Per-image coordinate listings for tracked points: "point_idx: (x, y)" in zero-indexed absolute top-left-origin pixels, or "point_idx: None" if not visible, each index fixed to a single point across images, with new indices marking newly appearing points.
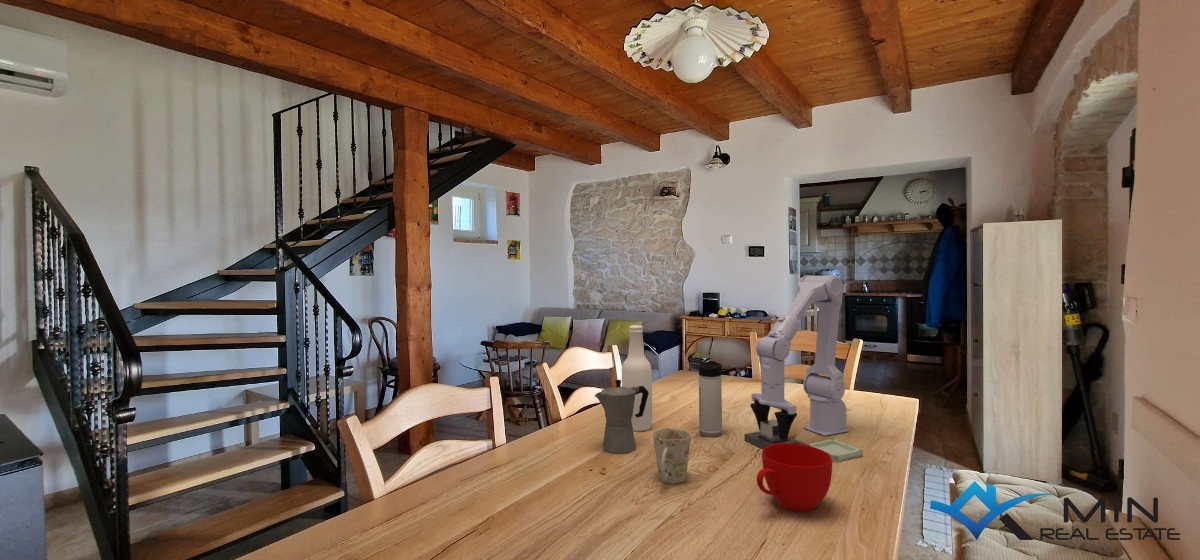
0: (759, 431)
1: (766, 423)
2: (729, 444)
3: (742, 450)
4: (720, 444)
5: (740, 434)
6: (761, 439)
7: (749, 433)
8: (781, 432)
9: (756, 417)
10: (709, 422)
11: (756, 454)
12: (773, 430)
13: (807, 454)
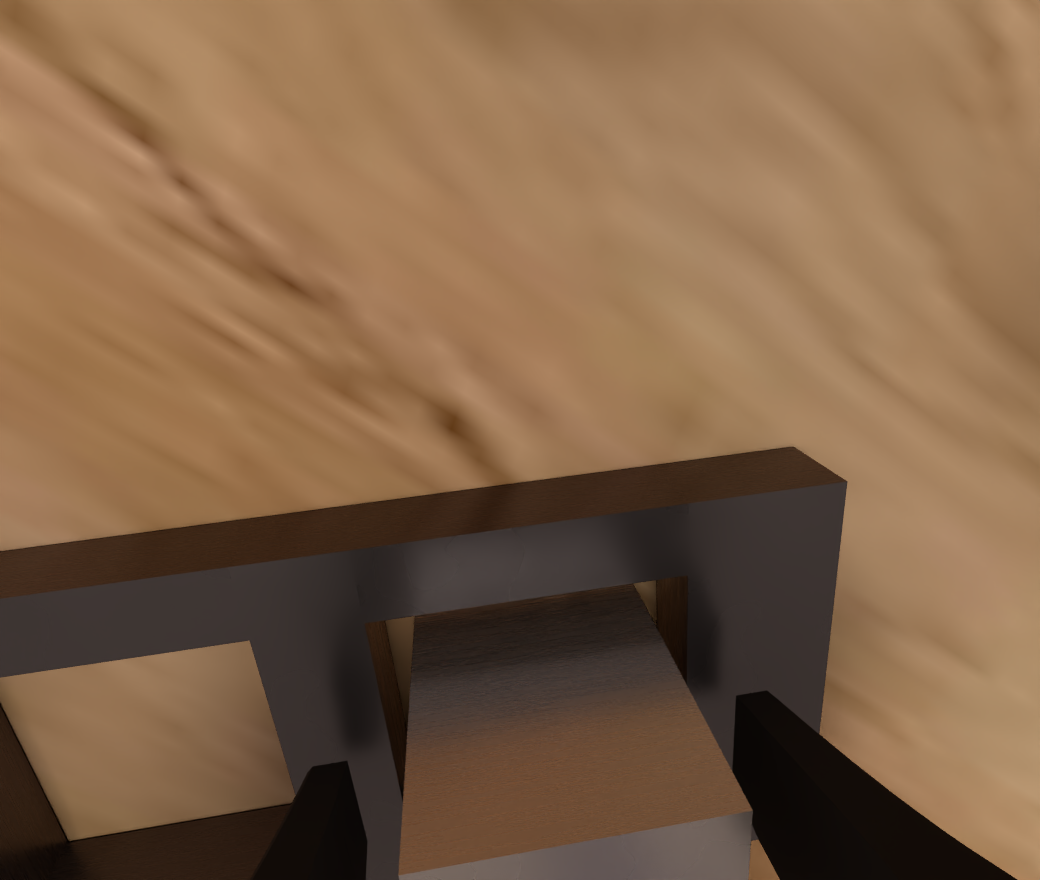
0: (820, 699)
1: (604, 856)
2: (788, 176)
3: (514, 216)
4: (855, 35)
5: (978, 517)
6: (563, 579)
7: (830, 556)
8: (253, 875)
9: (932, 843)
10: None
11: (312, 316)
12: (406, 813)
13: None
